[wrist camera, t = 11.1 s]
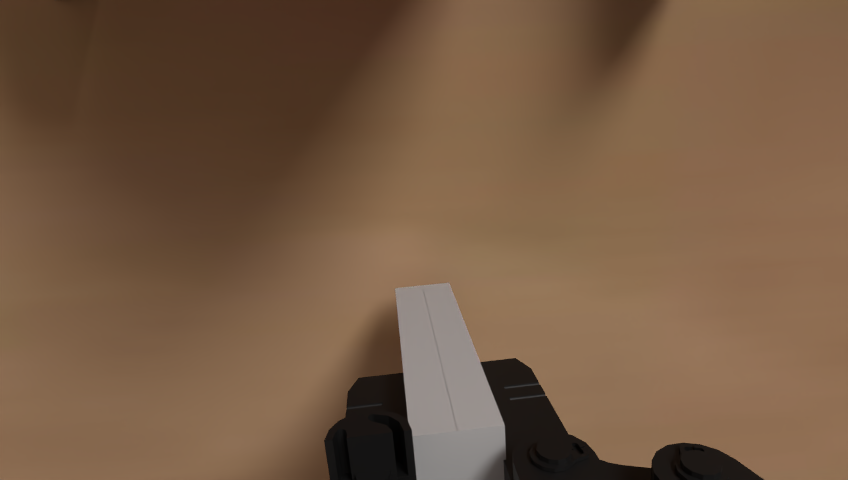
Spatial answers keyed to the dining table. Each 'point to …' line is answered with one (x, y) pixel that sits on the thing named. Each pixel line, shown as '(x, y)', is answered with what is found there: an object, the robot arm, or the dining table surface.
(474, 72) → the dining table surface
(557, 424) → the robot arm
